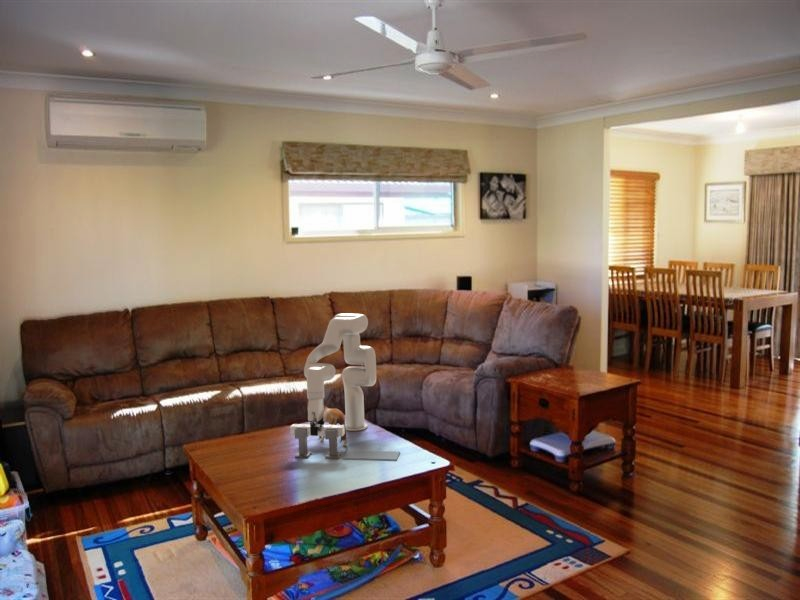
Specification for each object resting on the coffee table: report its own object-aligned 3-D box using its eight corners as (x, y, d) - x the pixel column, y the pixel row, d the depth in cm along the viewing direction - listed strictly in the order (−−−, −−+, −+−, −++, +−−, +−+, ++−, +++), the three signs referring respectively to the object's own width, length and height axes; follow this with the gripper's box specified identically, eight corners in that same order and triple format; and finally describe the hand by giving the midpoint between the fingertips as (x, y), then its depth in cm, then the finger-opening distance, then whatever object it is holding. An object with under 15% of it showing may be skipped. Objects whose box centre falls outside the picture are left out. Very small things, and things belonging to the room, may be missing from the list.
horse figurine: (306, 437, 329) (304, 396, 327) (319, 434, 334) (318, 393, 332) (342, 453, 305) (340, 408, 303) (356, 449, 310) (354, 405, 308)
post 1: (299, 452, 307) (298, 425, 306) (312, 453, 306) (311, 425, 305) (294, 458, 300) (293, 429, 299) (307, 458, 299) (306, 430, 298)
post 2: (329, 453, 305) (328, 425, 303) (342, 454, 304) (341, 426, 302) (325, 458, 298) (323, 430, 296) (338, 459, 297) (337, 430, 295)
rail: (293, 432, 305) (292, 423, 304) (344, 433, 301) (344, 424, 300) (290, 435, 301) (290, 426, 300) (342, 436, 297) (342, 427, 296)
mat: (348, 451, 307) (348, 450, 307) (400, 452, 303) (400, 451, 303) (342, 459, 297) (342, 457, 297) (396, 460, 293) (396, 459, 293)
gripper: (313, 389, 308) (314, 426, 310) (301, 399, 291) (303, 437, 293) (329, 390, 307) (330, 426, 308) (318, 399, 290) (320, 438, 291)
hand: (317, 432), depth 301 cm, fingers open, 9 cm apart
